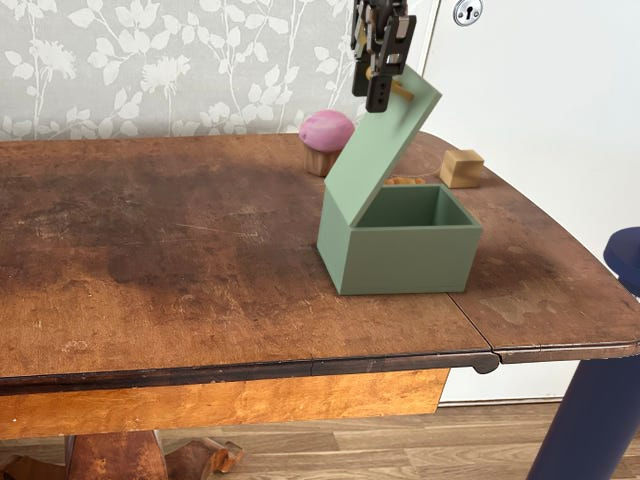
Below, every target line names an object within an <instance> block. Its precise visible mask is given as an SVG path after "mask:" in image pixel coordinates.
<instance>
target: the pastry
mask: <svg viewBox="0 0 640 480" xmlns="http://www.w3.org/2000/svg"><path fill="white" fill-rule="evenodd" d="M400 184H427V183H426V181H425V179H422V178H421V177H418V178H416V179H415V178H410V177H402V176H401V177H400V176H396V177H393V178H387V180H386V181H385V183H384V184H383V185H400Z"/></svg>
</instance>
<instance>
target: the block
mask: <svg viewBox="0 0 640 480" xmlns="http://www.w3.org/2000/svg"><path fill="white" fill-rule="evenodd" d="M484 164H485V159H484V158H483V157H482V156H481V155H480V154H479V153H478V152H477V151H475V149H447V150H445V152H444V157H443V161H442V164H441V168H440V172H439V176H438V177H439V178H440V179H441V180H442V182H443V184H445V186H446V187H447V188H448V189H459V188H460V189H462V188H463V189H464V188H465V189H467V188H478V185H479V181H480V178H481V174H482V171H483V167H484Z"/></svg>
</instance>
